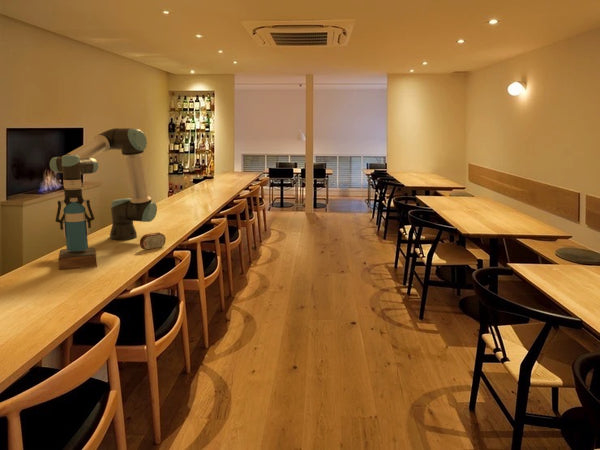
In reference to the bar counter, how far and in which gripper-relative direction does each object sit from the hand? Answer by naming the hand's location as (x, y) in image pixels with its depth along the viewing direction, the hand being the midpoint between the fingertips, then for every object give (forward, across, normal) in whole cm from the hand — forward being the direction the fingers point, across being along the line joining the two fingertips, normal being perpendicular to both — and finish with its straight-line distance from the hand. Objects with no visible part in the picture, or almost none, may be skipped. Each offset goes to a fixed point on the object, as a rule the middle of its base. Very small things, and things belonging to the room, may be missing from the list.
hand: (76, 235), depth 231 cm
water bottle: (+7, 0, 0) cm, 7 cm away
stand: (+14, 0, 0) cm, 14 cm away
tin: (+14, +37, +19) cm, 44 cm away
